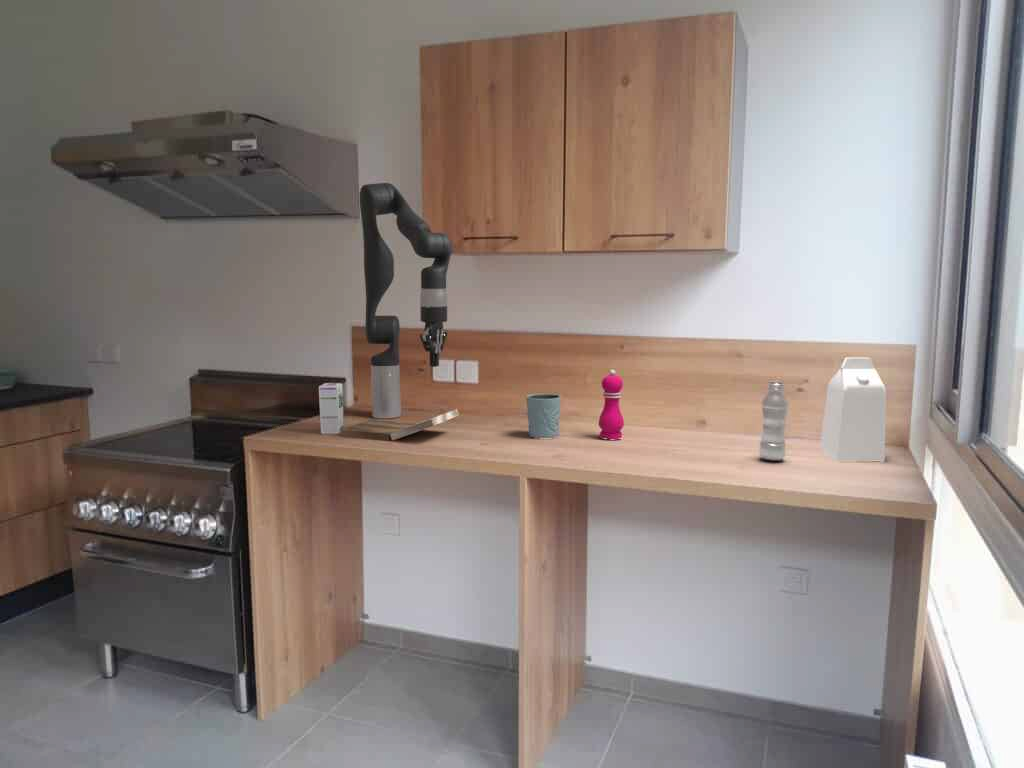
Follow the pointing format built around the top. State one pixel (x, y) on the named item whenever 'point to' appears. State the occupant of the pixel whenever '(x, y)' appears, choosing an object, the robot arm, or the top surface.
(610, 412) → the pepper mill
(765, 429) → the plastic bottle
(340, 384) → the syrup box
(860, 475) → the top surface
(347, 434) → the planks
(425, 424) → the beige flat block
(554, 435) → the blue planter pot
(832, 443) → the milk
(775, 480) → the top surface
